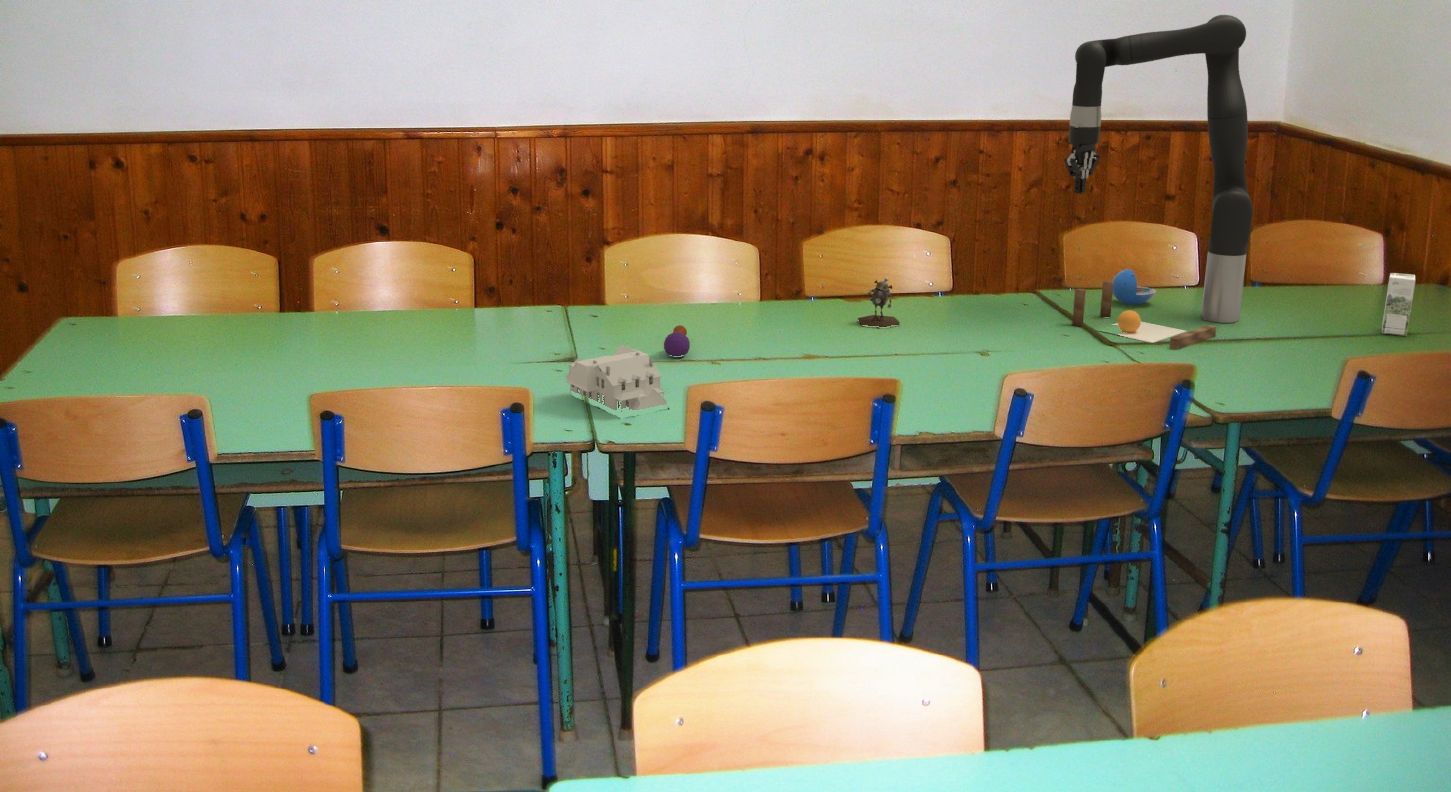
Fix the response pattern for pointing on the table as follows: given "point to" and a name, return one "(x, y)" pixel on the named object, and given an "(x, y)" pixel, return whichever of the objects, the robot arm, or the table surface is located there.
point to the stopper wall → (1192, 337)
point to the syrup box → (1398, 304)
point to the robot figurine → (880, 299)
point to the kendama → (677, 342)
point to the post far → (1106, 299)
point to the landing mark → (1152, 332)
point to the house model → (618, 379)
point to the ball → (1129, 321)
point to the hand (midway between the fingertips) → (1079, 193)
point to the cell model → (1130, 289)
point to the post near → (1079, 307)
